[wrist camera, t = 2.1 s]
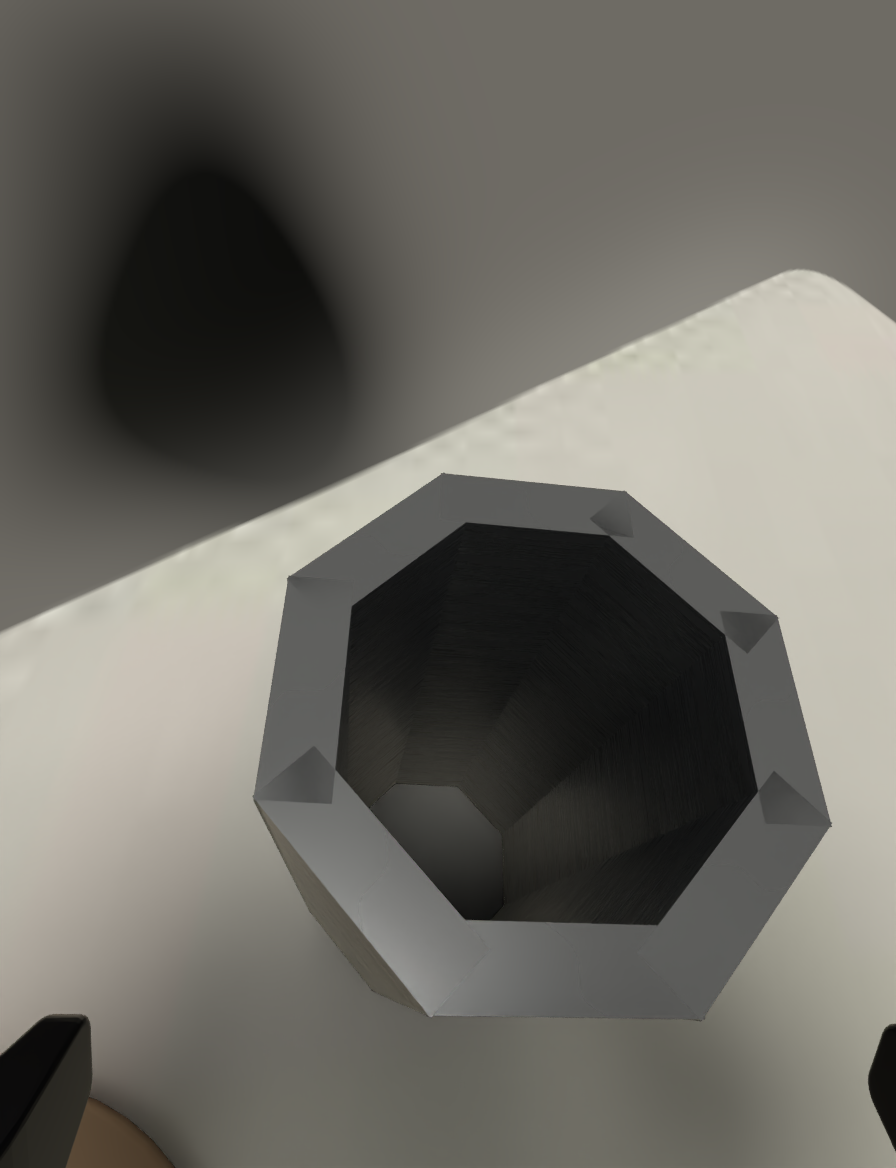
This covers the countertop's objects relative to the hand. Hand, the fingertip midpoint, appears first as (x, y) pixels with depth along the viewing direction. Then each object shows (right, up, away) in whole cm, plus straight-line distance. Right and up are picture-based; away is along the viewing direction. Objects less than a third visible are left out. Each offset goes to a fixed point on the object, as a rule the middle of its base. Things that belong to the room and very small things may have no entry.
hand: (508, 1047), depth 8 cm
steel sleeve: (-1, -2, +10) cm, 11 cm away
